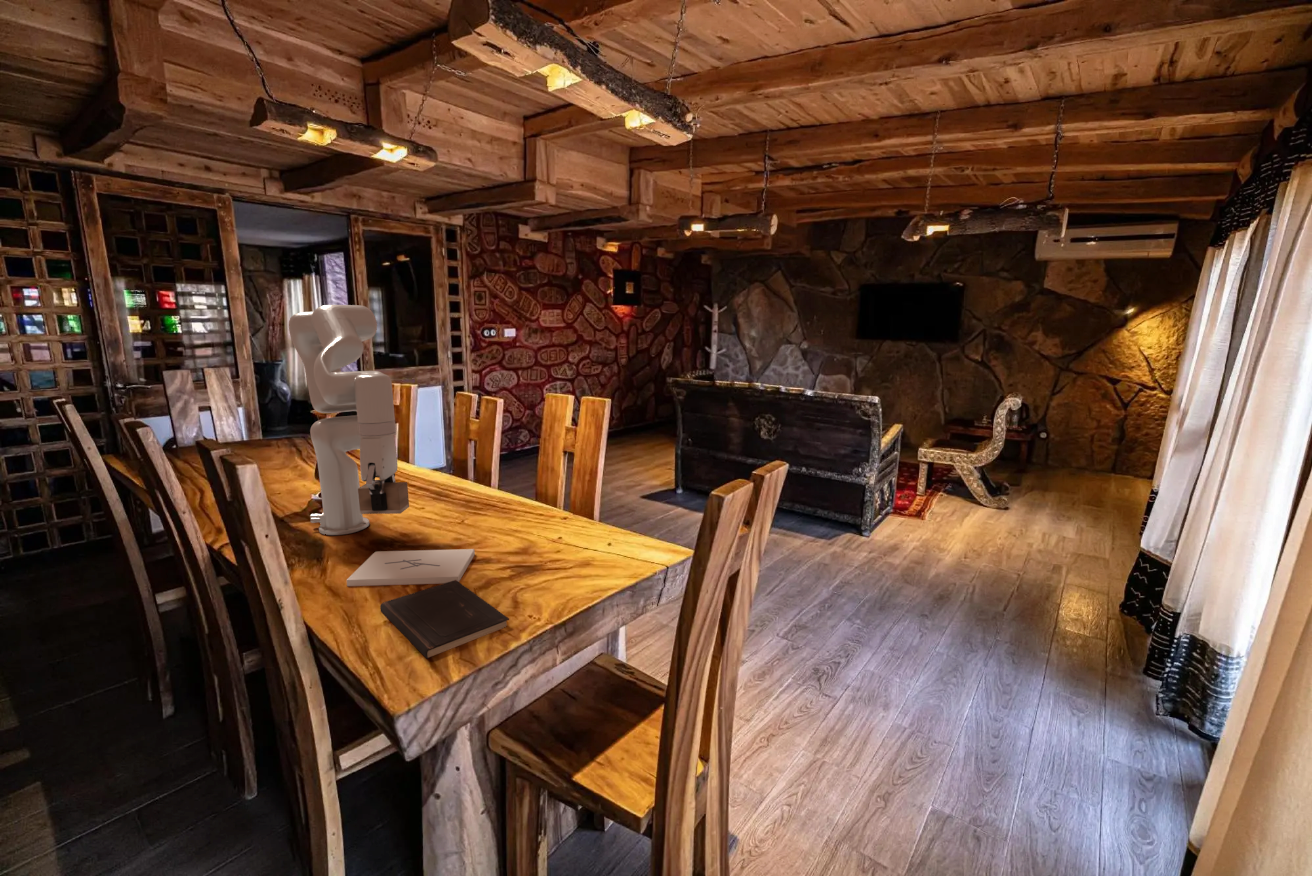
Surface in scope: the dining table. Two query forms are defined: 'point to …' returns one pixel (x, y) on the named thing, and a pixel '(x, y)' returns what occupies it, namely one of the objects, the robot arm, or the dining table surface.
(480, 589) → the dining table surface
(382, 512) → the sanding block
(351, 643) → the dining table surface
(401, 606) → the hardcover book
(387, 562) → the board
